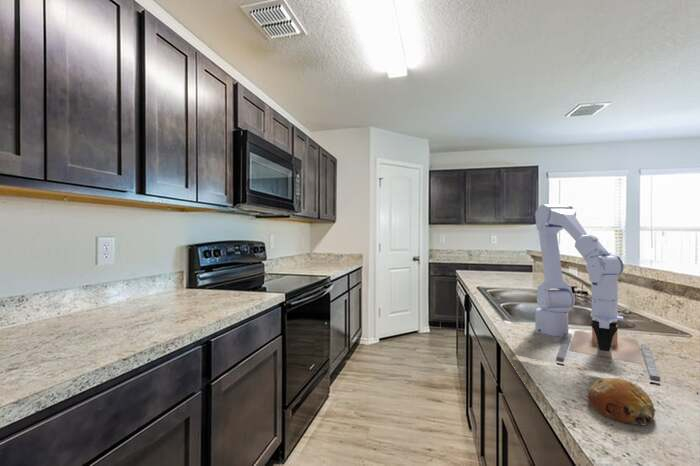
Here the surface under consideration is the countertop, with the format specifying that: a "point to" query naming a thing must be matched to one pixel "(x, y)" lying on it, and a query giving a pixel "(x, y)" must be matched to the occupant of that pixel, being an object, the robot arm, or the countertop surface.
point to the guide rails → (645, 348)
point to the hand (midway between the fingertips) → (604, 348)
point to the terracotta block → (614, 340)
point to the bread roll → (621, 401)
